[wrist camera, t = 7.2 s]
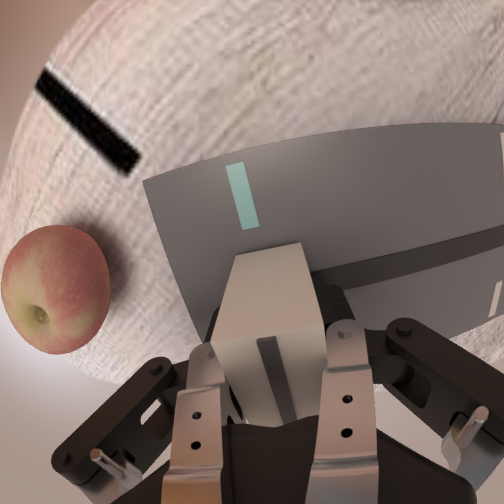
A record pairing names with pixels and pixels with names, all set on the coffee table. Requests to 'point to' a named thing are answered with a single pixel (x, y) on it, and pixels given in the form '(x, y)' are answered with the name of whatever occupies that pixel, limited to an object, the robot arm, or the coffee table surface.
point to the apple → (56, 288)
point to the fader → (272, 336)
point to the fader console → (350, 220)
